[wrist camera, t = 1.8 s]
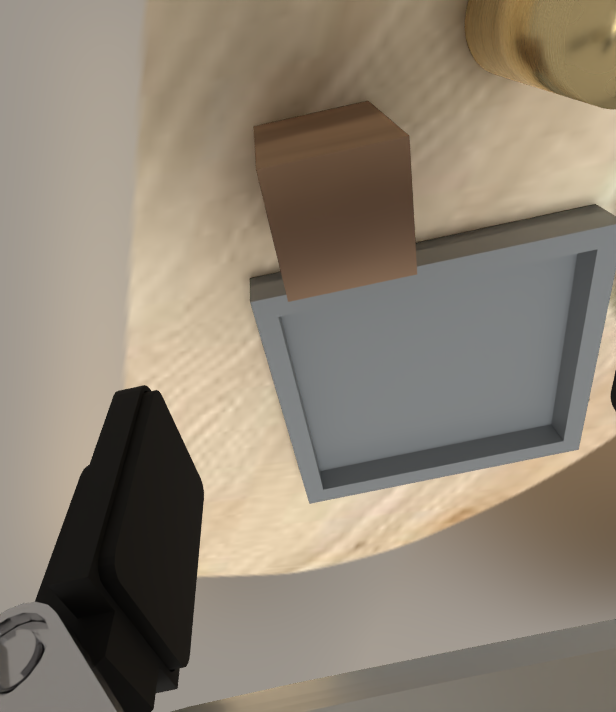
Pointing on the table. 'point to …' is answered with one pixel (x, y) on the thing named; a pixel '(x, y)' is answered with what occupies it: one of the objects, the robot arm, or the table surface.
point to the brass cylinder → (548, 45)
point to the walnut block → (337, 199)
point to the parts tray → (444, 355)
